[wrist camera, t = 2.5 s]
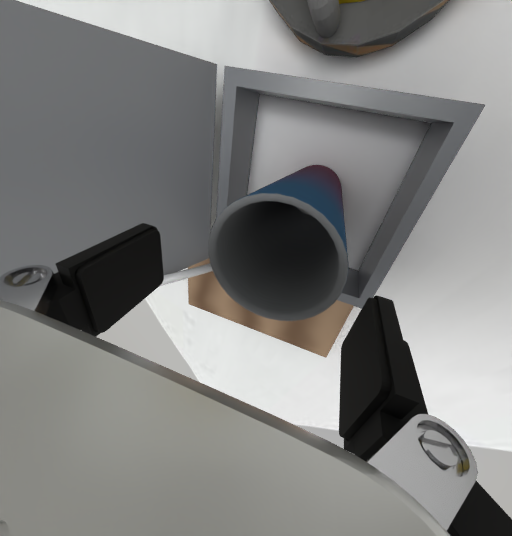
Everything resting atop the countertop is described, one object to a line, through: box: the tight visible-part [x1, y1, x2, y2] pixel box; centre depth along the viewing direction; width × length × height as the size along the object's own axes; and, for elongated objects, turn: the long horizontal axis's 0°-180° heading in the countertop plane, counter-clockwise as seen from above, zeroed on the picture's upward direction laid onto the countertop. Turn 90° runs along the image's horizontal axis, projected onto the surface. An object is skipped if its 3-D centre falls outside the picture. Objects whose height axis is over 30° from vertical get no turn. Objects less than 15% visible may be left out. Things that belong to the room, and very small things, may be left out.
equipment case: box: [160, 66, 485, 308], centre depth 18 cm, size 18×16×12 cm
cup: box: [208, 165, 349, 321], centre depth 17 cm, size 7×7×15 cm
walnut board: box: [188, 258, 353, 357], centre depth 32 cm, size 22×12×1 cm, turn 80°
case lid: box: [0, 0, 217, 277], centre depth 15 cm, size 16×16×1 cm
